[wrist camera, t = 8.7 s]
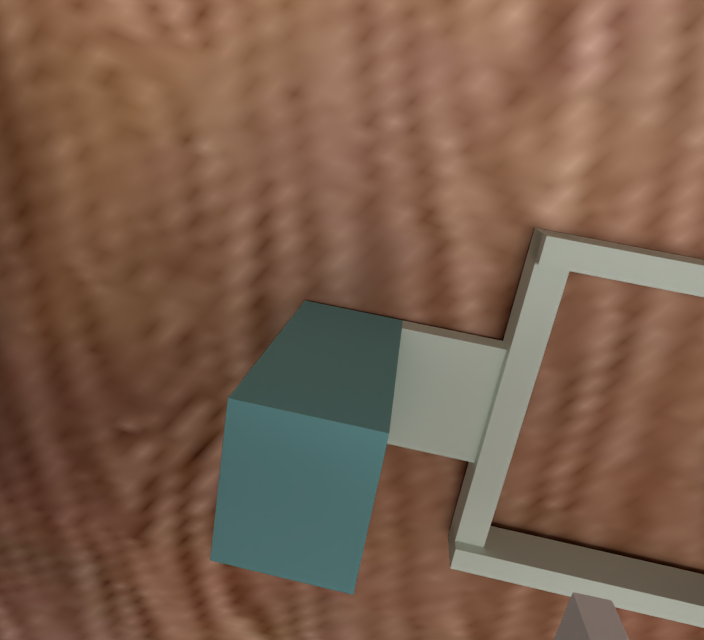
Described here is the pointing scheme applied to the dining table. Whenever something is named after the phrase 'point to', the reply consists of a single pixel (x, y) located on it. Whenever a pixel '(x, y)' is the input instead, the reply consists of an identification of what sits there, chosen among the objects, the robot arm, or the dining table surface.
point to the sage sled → (420, 437)
